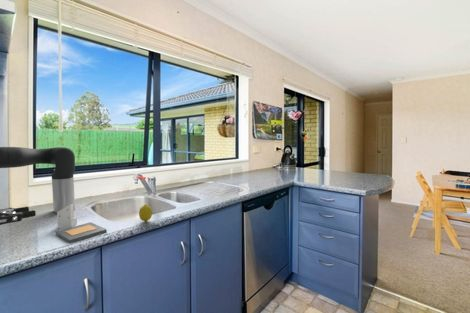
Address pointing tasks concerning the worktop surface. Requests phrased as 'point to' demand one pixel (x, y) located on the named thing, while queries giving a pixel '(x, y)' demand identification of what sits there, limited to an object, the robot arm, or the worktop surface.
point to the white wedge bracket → (66, 217)
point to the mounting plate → (80, 232)
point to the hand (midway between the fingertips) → (31, 211)
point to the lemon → (145, 213)
